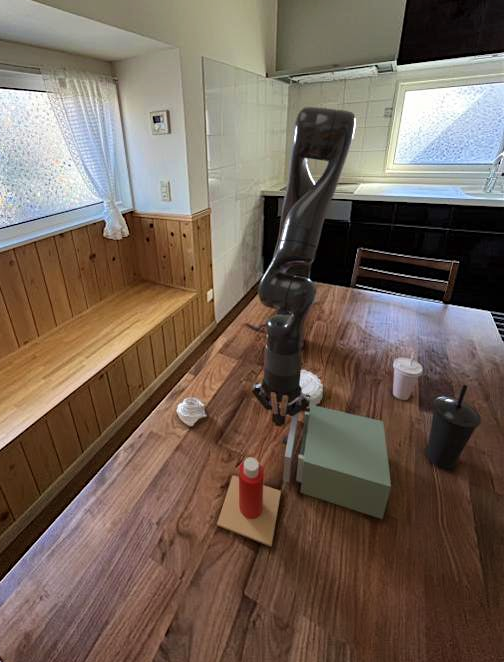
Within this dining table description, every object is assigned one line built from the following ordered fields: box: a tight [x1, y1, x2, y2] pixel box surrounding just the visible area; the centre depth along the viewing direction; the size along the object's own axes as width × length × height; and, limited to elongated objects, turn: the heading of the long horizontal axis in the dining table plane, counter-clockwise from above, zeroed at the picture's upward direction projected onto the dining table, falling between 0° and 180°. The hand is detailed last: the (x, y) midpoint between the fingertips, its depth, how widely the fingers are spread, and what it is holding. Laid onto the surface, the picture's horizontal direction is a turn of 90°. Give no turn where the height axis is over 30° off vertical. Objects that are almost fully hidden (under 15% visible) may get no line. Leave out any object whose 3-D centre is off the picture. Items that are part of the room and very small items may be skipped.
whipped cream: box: [176, 397, 208, 427], centre depth 85 cm, size 8×7×5 cm
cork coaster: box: [216, 474, 282, 548], centre depth 64 cm, size 10×10×1 cm
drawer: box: [282, 411, 310, 484], centre depth 70 cm, size 15×13×7 cm
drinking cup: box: [426, 384, 482, 470], centre depth 67 cm, size 8×8×20 cm
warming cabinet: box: [300, 405, 392, 520], centre depth 68 cm, size 15×15×9 cm
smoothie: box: [392, 350, 424, 401], centre depth 85 cm, size 6×6×14 cm
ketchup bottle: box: [238, 456, 265, 519], centre depth 61 cm, size 4×4×12 cm
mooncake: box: [287, 369, 324, 410], centre depth 90 cm, size 12×12×4 cm
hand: (278, 423), depth 77 cm, fingers closed
